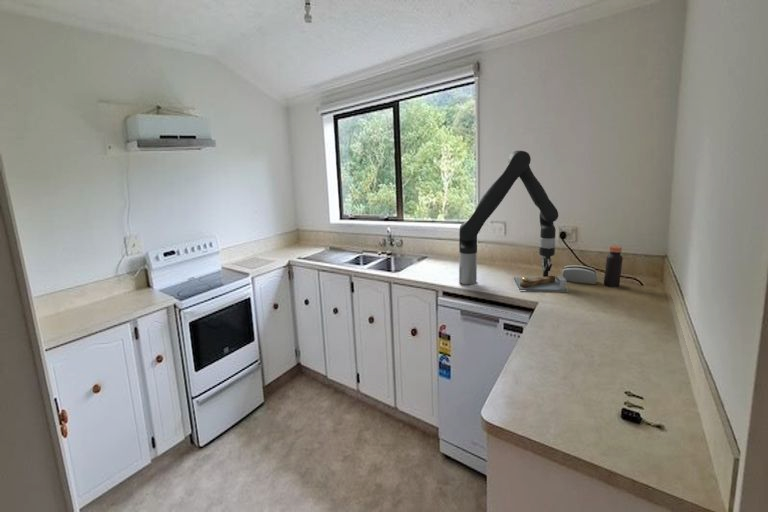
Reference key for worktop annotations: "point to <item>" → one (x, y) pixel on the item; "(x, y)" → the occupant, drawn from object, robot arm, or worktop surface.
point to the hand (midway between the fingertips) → (545, 277)
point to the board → (540, 286)
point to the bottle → (613, 267)
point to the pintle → (525, 279)
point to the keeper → (561, 282)
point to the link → (537, 281)
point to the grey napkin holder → (579, 274)
